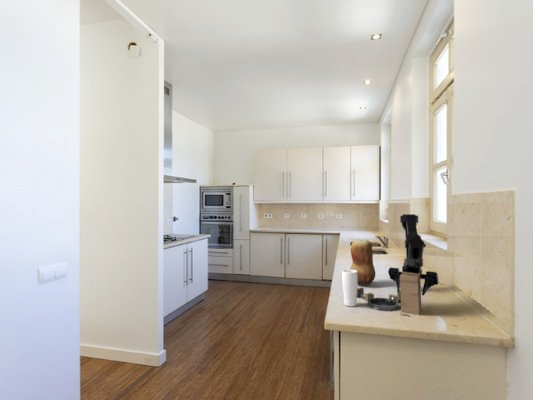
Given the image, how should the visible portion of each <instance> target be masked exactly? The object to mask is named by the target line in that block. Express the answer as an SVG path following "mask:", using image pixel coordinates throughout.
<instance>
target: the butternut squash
mask: <svg viewBox="0 0 533 400" xmlns="http://www.w3.org/2000/svg"><path fill="white" fill-rule="evenodd" d="M373 253H374V252H373V244H372V243H371V241H370V240H368V239H358V240H357V239H356V240H354V241H353V242H352V243H351V246H350V255H351V259H352V263H351V265H350V270H356V271H357V274H358V284H357V285H359V286H368V285H371V284H372V283H373V282H374V280H375V278H376V270H375V269H376V268H375V266H374V259H373V258H374V254H373Z"/></svg>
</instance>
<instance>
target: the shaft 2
mask: <svg viewBox="0 0 533 400" xmlns="http://www.w3.org/2000/svg"><path fill="white" fill-rule="evenodd" d="M388 299H392V300H395V301H397V302H398V303H399V304H400V302H401V291H399V292H398V290H397V289H396V294H393V293H392V294H388Z"/></svg>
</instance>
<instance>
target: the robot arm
mask: <svg viewBox="0 0 533 400" xmlns="http://www.w3.org/2000/svg"><path fill="white" fill-rule="evenodd" d="M399 221H400V224H401V227H402V229H403V230H404V231H405V234H404V236H405V239H404V248H405V258H404V260H403V261H404V262H403V263H402V264H403V266H402V267H401V271H400V268H399V267H389V268H388V270H387V272H388V276H389V278H390V280H392V281H393V282H395V284H396V291H397V290H398V292H399V291H400V275H401V274H402V273H403V272H409V273H419V274H420V280H424V282H423V285H422V286H423V287H422V290H421V296H425V294H426V293H427V292H428V290H429V289H431V287H434V286H438V285H439V275H438V273H437V271H429V270H426V271H425V274H424V273H423V269H422V267H423V266H424V259H423V256H424V255H423V254H424V250H425V248H426V246H427V245H426V243H425V241H424V240H423V239H422V236H421V235H420V234H418V230H417V224H419V215H418V214H415V213H411V214H410V213H406V214H405V213H403V214H402V215H400V217H399Z"/></svg>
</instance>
